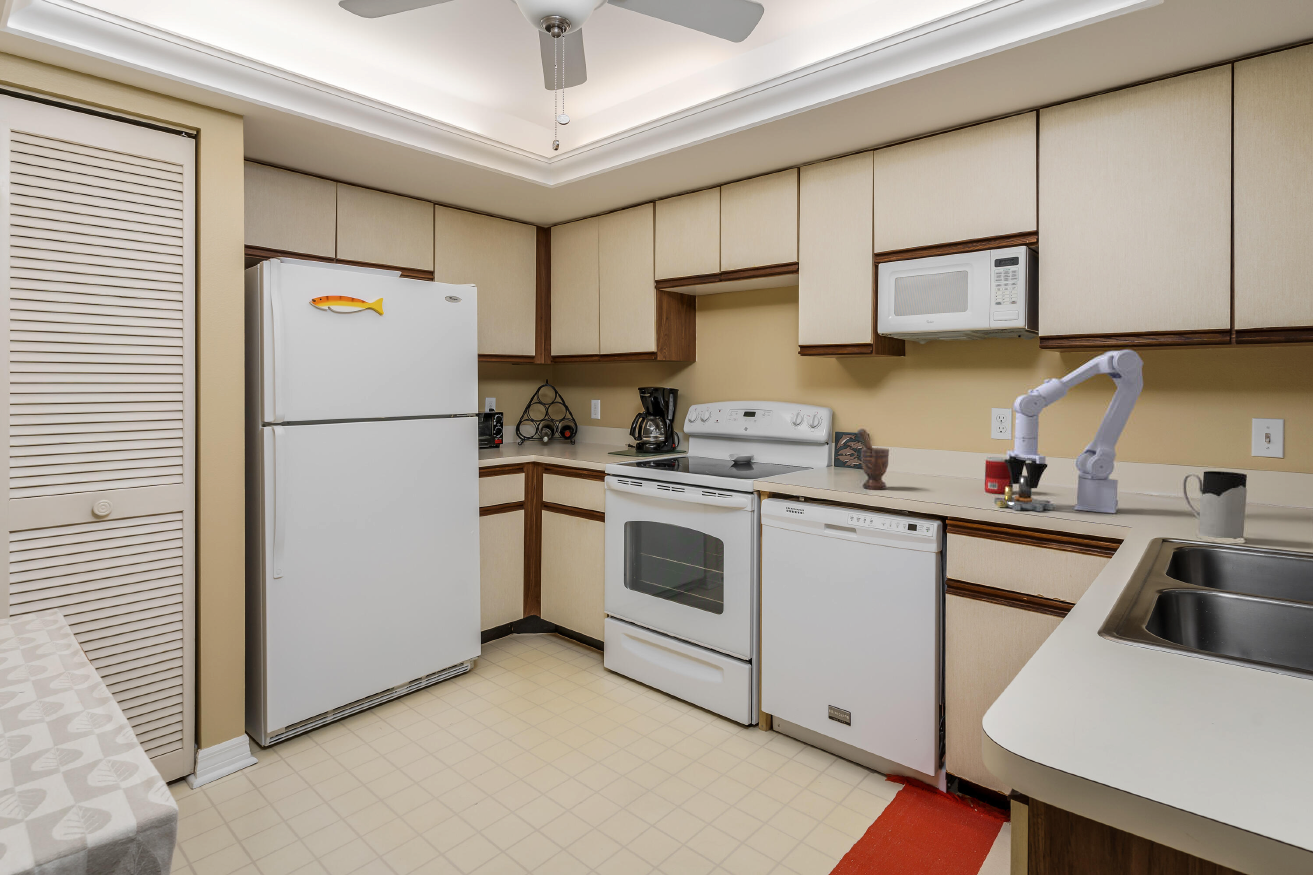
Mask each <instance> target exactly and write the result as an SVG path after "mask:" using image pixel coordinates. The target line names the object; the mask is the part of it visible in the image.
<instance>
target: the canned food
mask: <svg viewBox="0 0 1313 875" xmlns="http://www.w3.org/2000/svg"><path fill="white" fill-rule="evenodd" d="M1005 459H1009V458H1008V457H1003V456H987V457H985V463H984V464H985V465H984V466H985V468H984V491H985V493H987V494H990V495H991V494H992V495H1004V496H1005V487H1007V486H1008V487H1012V492H1013V489H1014V484H1012V481H1011V476H1010V472H1009V469H1008V467H1007V465H1006V463H1005V461H1004V460H1005Z"/></svg>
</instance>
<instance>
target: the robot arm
mask: <svg viewBox="0 0 1313 875" xmlns="http://www.w3.org/2000/svg"><path fill="white" fill-rule="evenodd" d="M1143 366H1144V361H1143V360H1142V358H1141V357H1140V355H1139V354H1138V353H1137V352H1136V351H1135V350H1133V349H1122V350H1110V351H1106V352H1104V353H1103V354H1102V355H1101V354H1100V355H1098V356H1096V357H1094V358H1092V359H1091V360H1089V361H1088V362H1086V363H1085V364H1083V365H1081V366H1080V367H1078V368H1077V369H1075V370H1073V371H1072V372H1070V373H1068V374H1067V375H1066V376H1065V375H1064V377H1062V378H1060V379H1059V378H1054V377H1053V378H1051V379H1050V378H1048V379H1045V380H1043V382H1044V383H1043V384H1041V385H1039V386H1038V387H1036V388H1034V389H1029V390H1028V391H1027V392H1028V394H1022V395H1020V396H1018V397H1017V398H1016V399H1015V401H1014V404H1012V407H1013V411H1014V412H1015V423H1014V425H1015V426H1014V427H1015V428H1014V447H1013V448H1014V450H1006V458H1009V459H1005V460H1004V461H1005V463H1006V465H1007V467H1008V469H1009V472H1010V476H1011V481H1012V484H1013V485H1019V476H1020V475H1023V471H1024V468H1025V470H1026V476H1027V477H1028V487H1029V488H1032V489H1038V487H1039V483H1040V481H1041V477H1042V475H1043V474H1044V471H1045V470H1046V469H1047V468H1048V463H1046V459H1047V458H1046V456H1045V455H1042V454H1039V453H1038V451H1039V450H1038V448H1039V447H1038V446H1039V444H1038V443H1039V427H1040V426H1039V423H1040V422H1039V417H1040V413H1042V411H1043V409H1045V408H1047V407H1048V406H1049V407H1050V406H1051V405H1052V404H1054V403H1056V402H1057V401H1059V400H1061V399H1062V398H1064V397H1066V396H1067V394H1068V391H1069V389H1070V388H1072V387H1075V386H1076V385H1078V384H1080V383H1082V382H1084V381H1086V380H1088V379H1089V378H1092V377H1094V376H1096V375H1098V374H1107V376H1109V377H1110V378H1111V379H1112V381H1113V382H1114V384H1115V386H1116V387H1117V389H1116V391H1115V393H1114V395H1113V397H1112V399H1111V400H1110V404H1109V406H1108V408H1107V410H1106V412H1105V414H1104V416H1103V418H1102V421H1101V423H1100V425H1099V427H1098V430H1097V431H1096V433H1095V436H1094V438H1093V440H1092V441H1091V442H1090V443H1088V444H1087V445H1086V447H1085V448H1084V450H1083V452H1082V453H1080V454H1079V455H1077V457H1076V459H1075V467H1076V469H1077V470H1078V471H1079V473H1078V476H1077V491H1076V492H1077V494H1076V495H1077V496H1076V504H1075V505H1074V507H1073V510H1076V511H1083V512H1084V511H1087V512H1096V513H1106V514H1116V511H1117V508H1118V507H1119V500H1118V484H1119V482H1118V481H1119V480H1118V479H1115V478H1114V479H1113V478H1110V475H1111V474H1112V473H1113V471H1114V470H1115V458H1116V456H1117V454H1116V449H1115V448H1116V445H1117V443H1118V441H1119V438H1121V437H1120V436H1121V435H1122V432H1123V430H1124V429H1125V426H1126V424H1127V422H1128V420H1129V418H1130V415H1131V413H1132V411H1133V410H1134V408H1135V406H1136V405H1135V404H1136V403H1137V401H1138V399H1139V396H1140V395H1141V392H1142V390H1143V388H1144V379H1143Z"/></svg>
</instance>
